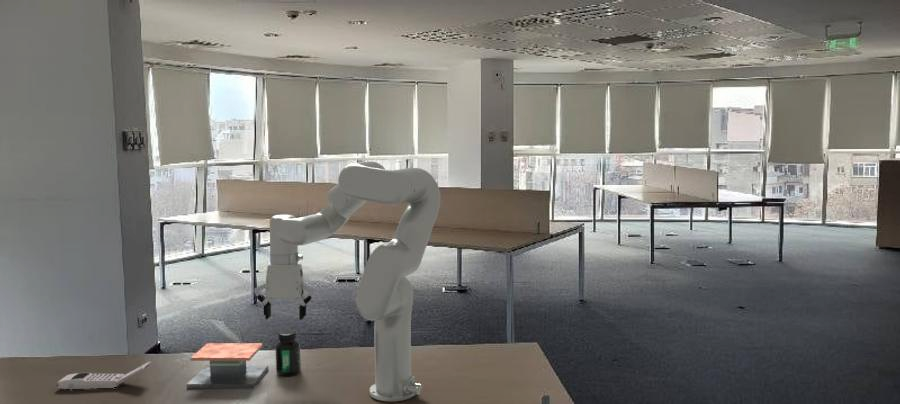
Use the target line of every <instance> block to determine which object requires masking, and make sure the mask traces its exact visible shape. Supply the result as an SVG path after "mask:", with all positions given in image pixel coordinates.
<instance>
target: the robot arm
mask: <svg viewBox="0 0 900 404" xmlns="http://www.w3.org/2000/svg"><path fill="white" fill-rule="evenodd" d="M432 175H433V174H431V173H429V172H428V171H427V170H425V169H423V168H419V167H408V168H407V167H406V168H399V169H393V170H391V169H390V170H389V169H386V168H385V167H384V166H383V165H382V164H381V163H379V162H376V161H370V160H369V161H360V162H353V163H350V164H347V165H346V166H344V167H343V168H342V169H341V171H340V173H339V175H338V178H337V179H338V180H337V181H338V183H337V184H336V185H335V186H333V187H332V188H330V189H329V192H328V194H327V199H328V202H329V203H328V204H327V205H326V206H325V207H324V208H322V209H321V210H320V211H318V212H317V213H316V214H315V213H314V214H309V215H306V216H301V217H297V216H295V215H293V214H285V213H284V214H275V215H273V216H271V217H270V219H269V253H270V255H269V259H270V261H269V262H268V264H267V269H266V277H265V283H263V284H261V285H258V286H257V287H254V289H253V292H254V295H255V296H256V299H257V300H258V301H259V302H260V303H261V305H263V316H264V317H265V320H269V319H270V318H271V317H272V304H271V302H270V301H271V300H292V301H293V300H297V302H298V304H300V305H299V307H298V308H299V311H298V313H299V315H298V316H299V321H303V320H304V318H305V317H306V316H307V304H308V303H309V302H310V301H311V300H312V299H313V296H314V295H315V293H316V291H317V290H316V289H315V288H313V287H312V286H310V285H308V284H305V280H304V273H303V266H302V263H301V262H299V261H302V260H304V255H303V254H300V253H299V248H298V247H299V246H306V245H309V244H312V243H315V242H319V241H323V240H326V239H327V238H328V239H329V237H330V236H332V235H333V234H335V233H336V232H338V230H340V229H341V228H342V227H344V225H345V224H347V223H348V222H349V219H350V218H351V217H352V214H354V213H355V212H357V210H358V209H360V208H361V207H363V205H365V204H367V202H370V203H371V202H372V203H376V204H382V205H385V206H386V205H387V206H399V205H400V206H401V205H403V204H404V205H405V204H407V207H406V209H405V210H404V212H403V214H402V215H401V217H400V219H399V222H398V224H397V228H396V231H395V232H394V235H393V237H392V239H391V240H390V241H388V242H385V243H382V244H381V245H378V246H377V247H375V248H374V250H373V251H372V252H371V254H370V255H369V256H368V259H367V262H366V265H365V268H364V271H363V273H362V276H361V279H360V283H359V285H358V288H357V292H356V297H355V304H356V309H357V311H358V313H359V314H360V315H361V317H363V318H364V319H366V320H368V321H372V322H373V321H374V327H373V329H374V330H373V331H374V332H373V333H374V336H373V338H374V339H373V340H374V341H373V343H374V344H373V345H374V381H375V383H374V384H372V385H371V386H370V387H369V396H371V398H373V399H374V400H378V401H380V402H381V401H382V402H388V403H389V402H390V403H392V402H393V403H394V402H401V401H405V400H409V399H411V398H413V397H415V396H416V395H417V396H419V395H420V394H421V392H422V389H423V384H422V383H417V382H416V381H415V380H416V379H415V378H416V377H415V376H414V375H412V340H411V339H412V337H411V336H412V332H411V331H412V328H411V326H412V310H413V304H414V289H413V286H412V283H411V281H410V280H409V279H408V278H407V276H410V275H411V274H413V273H414V272H416V271H417V270H418V269H419V267H420V265H421V263H422V260H423V257H424V254H425V252H426V248H427V246H428V243H429V241H430V238H431V237H430V236H431V234H432V230H433V228H434V225H435V223H436V220H437V217H438V215H439V212H440V209H441V207H440V206H441V191H440V188H439V185H438V182H437V180H436V179H435V178H434V176H432ZM264 289H265V296H266V297H265V296H264V294H262V292H261V291H263V290H264ZM305 292H307V293H308V295H307V297H305V296H304V293H305Z"/></svg>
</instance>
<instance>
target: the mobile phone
mask: <svg viewBox="0 0 900 404" xmlns="http://www.w3.org/2000/svg"><path fill="white" fill-rule="evenodd" d="M151 363H152V362H151V360H150V361H147V362H145V363H144V364H142V365H140V366H138V367H136V368H134V369H132V370H131V371H128V372H127V373H92V372H78V373H70V374H67V375H65V376H64V377H62V378H61V379H60V380H57V387H58V389H61V390H66V389H80V388H113V389H115V388H114V387H117V386H118V385H119V384H120V383H121V384H123V383H124V380H126V379H129V378H130V377H132V376H134V375H136V374H138V373H140V372H141V371H143V370H145V369H146V368H147V367H148V366H149V365H151ZM122 382H123V383H122ZM121 384H120V385H121ZM120 385H119V386H120ZM119 386H118V387H119ZM118 387H117V388H118Z"/></svg>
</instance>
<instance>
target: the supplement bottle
mask: <svg viewBox="0 0 900 404" xmlns="http://www.w3.org/2000/svg"><path fill="white" fill-rule="evenodd" d="M274 348H275V349H274V350H275V370H276V371H275V373H276V375H277V376H278V377H281V378H292V377H295V376H298V375H300V373H301V371H302V369H301V368H302V365H301V364H302V363H301V361H302V360H301V343H300V342H299V340H297V331H296V330H293V329H286V330H281V331H279V332H278V341H277V342H276V343H275V347H274Z"/></svg>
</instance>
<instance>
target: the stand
mask: <svg viewBox="0 0 900 404" xmlns="http://www.w3.org/2000/svg"><path fill="white" fill-rule="evenodd" d="M263 346H264V343H262V342H260V343H259V342H255V343H253V342H252V343H251V342H250V343H249V342H248V343H247V342H243V343H242V342H235V343H233V342H230V343H229V342H225V343H224V342H217V343H215V342H214V343H213V342H209V343H206V344H205V345H203V346H202V347H201V348H200V349H199V350H198V351H197V352H196V353H194V354H193V355H191V356H190V359H189V360H190V361H191V362H192V361H198V362H200V361H203V362H204V361H205V362H207V361H208V362H209V365H205V366H204V367H203V368H202V369H201V370H200V371H199V372H198V373H197V374H196V375H195V376H193V378H191V379H190V380H189V381H188V382H187V383H186V389H222V390H223V389H229V390H230V389H237V390H239V389H244V390H245V389H249V390H251V389H254V388H255V387H256V386H257V384H258V383H259V382H260V380H261V379H262V378H263V377H264V376H265V374H266V373H267V372H268V371H269V365H247V362H250V361H251V360H252V358H253V357H255V355H256V354H257V353H258V352H260V350H261V349H262V347H263Z"/></svg>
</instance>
